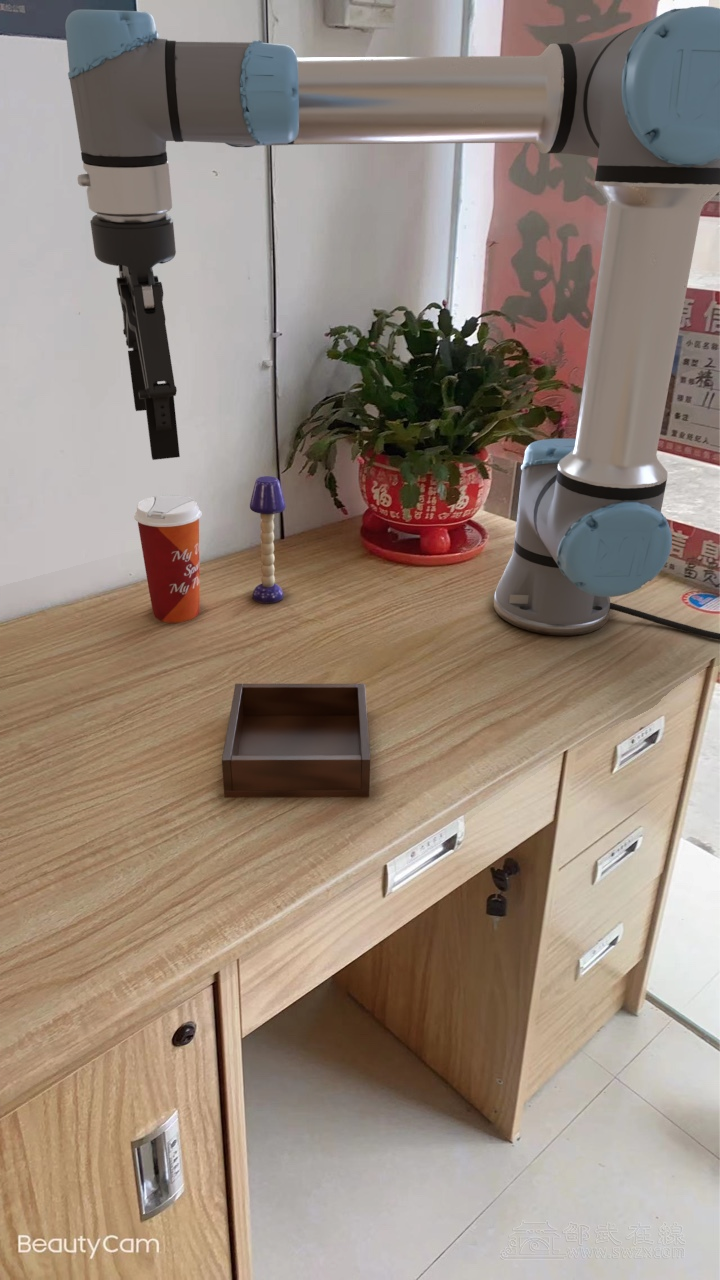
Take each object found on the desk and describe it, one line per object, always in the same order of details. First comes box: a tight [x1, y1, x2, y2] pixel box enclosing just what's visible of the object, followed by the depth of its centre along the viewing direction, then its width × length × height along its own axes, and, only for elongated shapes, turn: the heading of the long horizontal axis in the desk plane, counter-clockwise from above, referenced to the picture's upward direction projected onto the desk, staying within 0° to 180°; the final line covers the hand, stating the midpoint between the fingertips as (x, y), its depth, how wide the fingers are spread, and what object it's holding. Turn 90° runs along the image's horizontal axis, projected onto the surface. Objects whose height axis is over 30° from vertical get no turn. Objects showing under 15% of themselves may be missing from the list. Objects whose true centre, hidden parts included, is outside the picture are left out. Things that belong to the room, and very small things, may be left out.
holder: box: [221, 683, 371, 798], centre depth 88 cm, size 14×14×4 cm
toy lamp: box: [249, 475, 287, 604], centre depth 117 cm, size 5×5×17 cm
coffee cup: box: [133, 494, 203, 624], centre depth 113 cm, size 8×8×15 cm
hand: (156, 432), depth 94 cm, fingers open, 13 cm apart
